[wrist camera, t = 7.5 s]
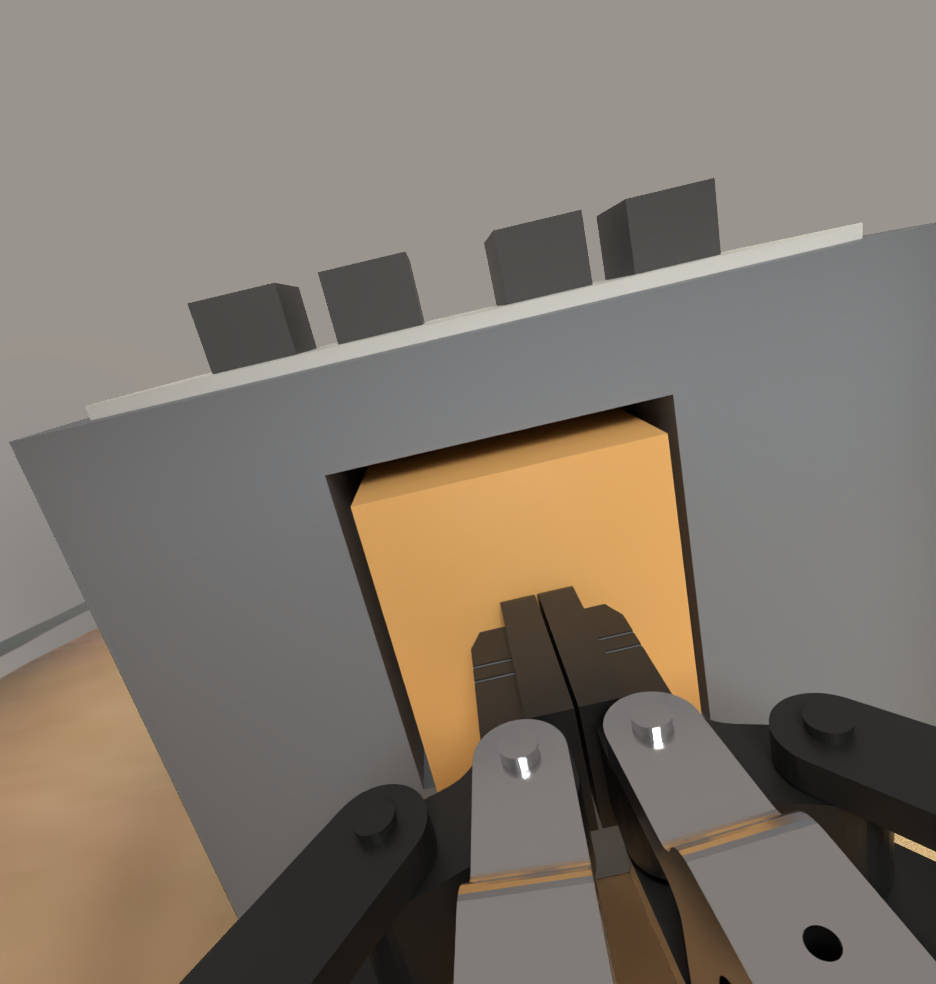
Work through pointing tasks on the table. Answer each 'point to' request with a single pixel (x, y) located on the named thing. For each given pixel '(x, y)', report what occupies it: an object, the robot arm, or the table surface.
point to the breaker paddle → (521, 555)
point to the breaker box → (486, 413)
